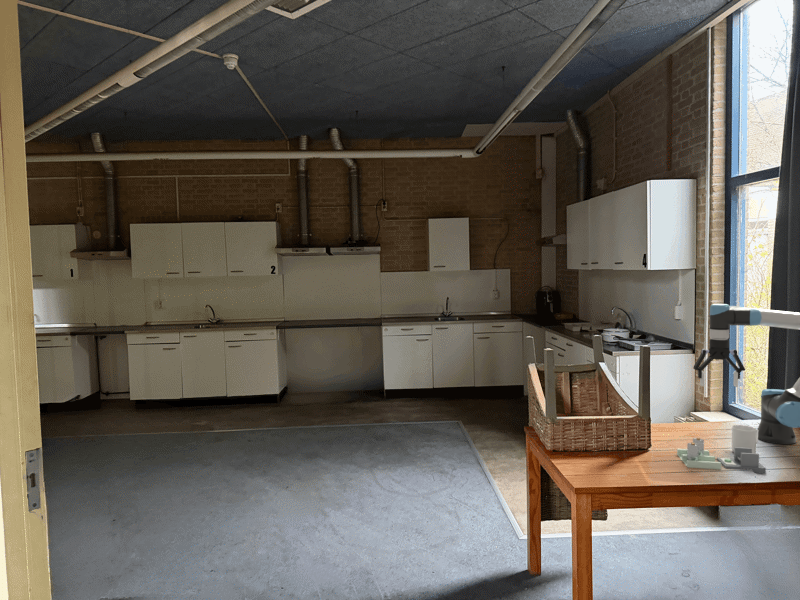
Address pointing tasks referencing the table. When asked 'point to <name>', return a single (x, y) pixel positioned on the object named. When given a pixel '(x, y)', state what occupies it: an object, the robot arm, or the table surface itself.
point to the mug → (744, 437)
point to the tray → (703, 462)
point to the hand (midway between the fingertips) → (718, 386)
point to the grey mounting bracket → (743, 460)
